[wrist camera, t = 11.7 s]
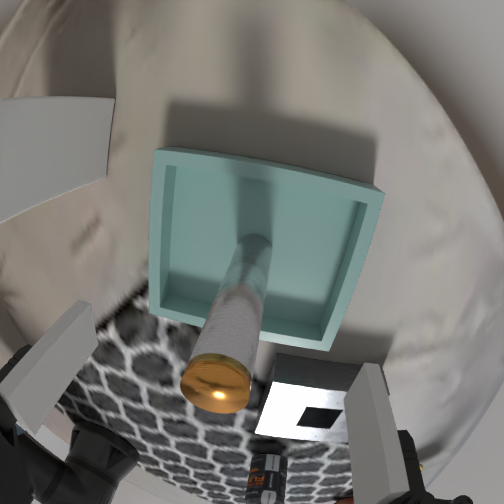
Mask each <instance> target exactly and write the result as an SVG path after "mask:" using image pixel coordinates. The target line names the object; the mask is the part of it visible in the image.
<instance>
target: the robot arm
mask: <svg viewBox="0 0 504 504" xmlns="http://www.w3.org/2000/svg"><path fill="white" fill-rule="evenodd" d="M97 346H98V341H97V337H96V332H95V326H94V321H93V315H92V309H91V304H90V303H87V302H85V301H82V300H78V301H77V302H76V303H75V304H74V305H73V306H72V307H71V308H70V309H68V310H67V311H66V312H65V313H64V314H63V315H62V316H61V318H60V319H59V320H58V321H57V322H56V323H55V324H54V325H53V326H52V327H51V328H50V329H49V330H48V331H47V332H46V333H45V334H44V335H43V336H42V337H41V338H40V339H39V340H38V341H37V342H36V344H35V345H34V346H33V347H32V346H30V345H29V344H28V345H26V346H24V347H22V348H21V349H19V350H18V351H17V352H16V353H15V354H14V355H13V358H11V359H10V360H9V361H8V363H6V364H5V365H4V366H3V368H2V369H1V370H0V504H31V503H32V501H33V499H36V500H37V501H39V502H40V503H42V504H111V502H112V499H113V497H114V494H115V492H116V489H117V487H118V484H119V482H120V481H121V480H122V479H123V478H124V477H125V476H126V475H127V474H128V473H129V472H130V471H131V470H132V469H133V468H134V467H135V466H136V464H137V462H138V459H139V454H138V453H137V451H136V450H135V449H134V448H133V447H132V446H131V445H129V444H128V443H127V442H126V441H124V440H123V439H121V438H120V437H118V436H117V435H115V434H113V433H112V432H110V431H108V430H106V429H104V428H102V427H100V426H98V425H96V424H93V423H90V422H87V421H77V423H76V424H75V426H74V428H73V430H72V436H71V442H70V449H69V454H68V456H67V458H66V460H65V461H62V460H60V459H59V458H58V457H57V456H55V455H54V454H53V453H51V452H50V451H49V450H48V449H46V448H45V447H44V446H42V445H41V444H40V443H39V442H38V441H36V440H35V439H34V438H33V437H32V436H31V435H29V434H28V432H30V433H31V434H33V435H35V434H36V433H37V431H38V430H39V428H40V427H41V425H42V424H43V422H44V421H45V419H46V418H47V416H48V415H49V413H50V412H51V410H52V409H53V407H54V406H55V404H56V403H57V401H58V400H59V398H60V397H61V396H62V394H63V393H64V391H65V390H66V388H67V387H68V386H69V384H70V383H71V381H72V380H73V378H74V377H75V376H76V374H77V373H78V372H79V370H80V369H81V367H82V366H83V365H84V363H85V362H86V361H87V359H88V358H89V357H90V355H91V354H92V353H93V351H94V350H95V349H96V347H97ZM343 401H344V408H345V416H346V424H347V432H348V441H349V450H350V460H351V471H352V483H353V496H354V504H473V501H472V500H471V499H470V498H469V497H468V496H466V495H461V496H459V497H457V498H455V499H453V500H443V499H436V498H434V496H433V495H432V494H430V493H429V492H426V490H425V487H424V483H423V479H422V474H421V470H420V465H419V461H418V459H417V453H416V451H415V450H416V449H415V445H414V441H413V438H412V437H411V435H410V434H409V433H408V431H407V430H397V428H396V424H395V420H394V416H393V412H392V409H391V405H390V401H389V397H388V394H387V390H386V387H385V383H384V380H383V376H382V373H381V370H380V366H379V364H373V363H364V364H363V366H362V368H361V370H360V372H359V373H358V375H357V377H356V379H355V380H354V382H353V384H352V386H351V387H350V389H349V391H348V392H347V394H346V396H345V397H344V399H343ZM17 421H18V422H19V424H20V425H21V426H22V428H24V429H25V430H24V429H22V428H21V427H20V426H18V425H17V424H16V422H17ZM26 430H27V431H28V432H27V431H26Z"/></svg>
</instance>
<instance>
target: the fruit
mask: <svg viewBox="0 0 504 504" xmlns="http://www.w3.org/2000/svg"><path fill="white" fill-rule="evenodd" d="M334 504H354V498H344V499H341V500H339V501H337V502H336V503H334Z"/></svg>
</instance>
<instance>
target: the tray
mask: <svg viewBox="0 0 504 504" xmlns="http://www.w3.org/2000/svg"><path fill="white" fill-rule="evenodd" d="M384 195H385V193H384V192H382V191H381V190H380V189H378V188H377V187H376V186H374V185H372V184H368V183H365V182H361V181H357V180H353V179H350V178H346V177H342V176H338V175H333V174H329V173H325V172H321V171H316V170H312V169H307V168H303V167H298V166H293V165H289V164H284V163H279V162H273V161H268V160H263V159H257V158H252V157H246V156H240V155H233V154H227V153H220V152H214V151H206V150H199V149H191V148H183V147H174V146H169V147H164V148H159V149H154V160H153V171H152V184H151V200H150V222H149V307H150V314H154V315H157V316H161V317H165V318H168V319H172V320H176V321H180V322H184V323H188V324H192V325H196V326H200V327H203V326H204V323H205V321H206V319H207V316H208V314H209V311H210V309H211V307H212V304H213V302H214V299H215V297H216V295H217V292H218V290H219V287H220V285H221V283H222V280H223V278H224V276H225V273H226V271H227V269H228V266H229V264H230V261H231V259H232V257H233V254H234V252H235V250H236V247H237V245H238V243H239V241H240V240H241V239H242V238H243V237H244V236H246V235H248V234H259V235H262V236H264V237H265V238H267V239H268V241H269V242H270V243H271V246H272V258H271V265H270V271H269V278H268V285H267V291H266V298H265V304H264V310H263V317H262V323H261V329H260V336H259V340H264V341H269V342H275V343H280V344H286V345H291V346H297V347H303V348H309V349H316V350H322V351H329V350H330V348H331V345H332V343H333V341H334V338H335V336H336V334H337V331H338V329H339V327H340V324H341V322H342V319H343V317H344V314H345V312H346V309H347V307H348V304H349V302H350V299H351V297H352V294H353V291H354V289H355V286H356V283H357V280H358V278H359V275H360V272H361V269H362V266H363V263H364V261H365V258H366V255H367V252H368V249H369V246H370V243H371V239H372V236H373V233H374V230H375V227H376V223H377V220H378V217H379V213H380V210H381V206H382V203H383V199H384Z"/></svg>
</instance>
